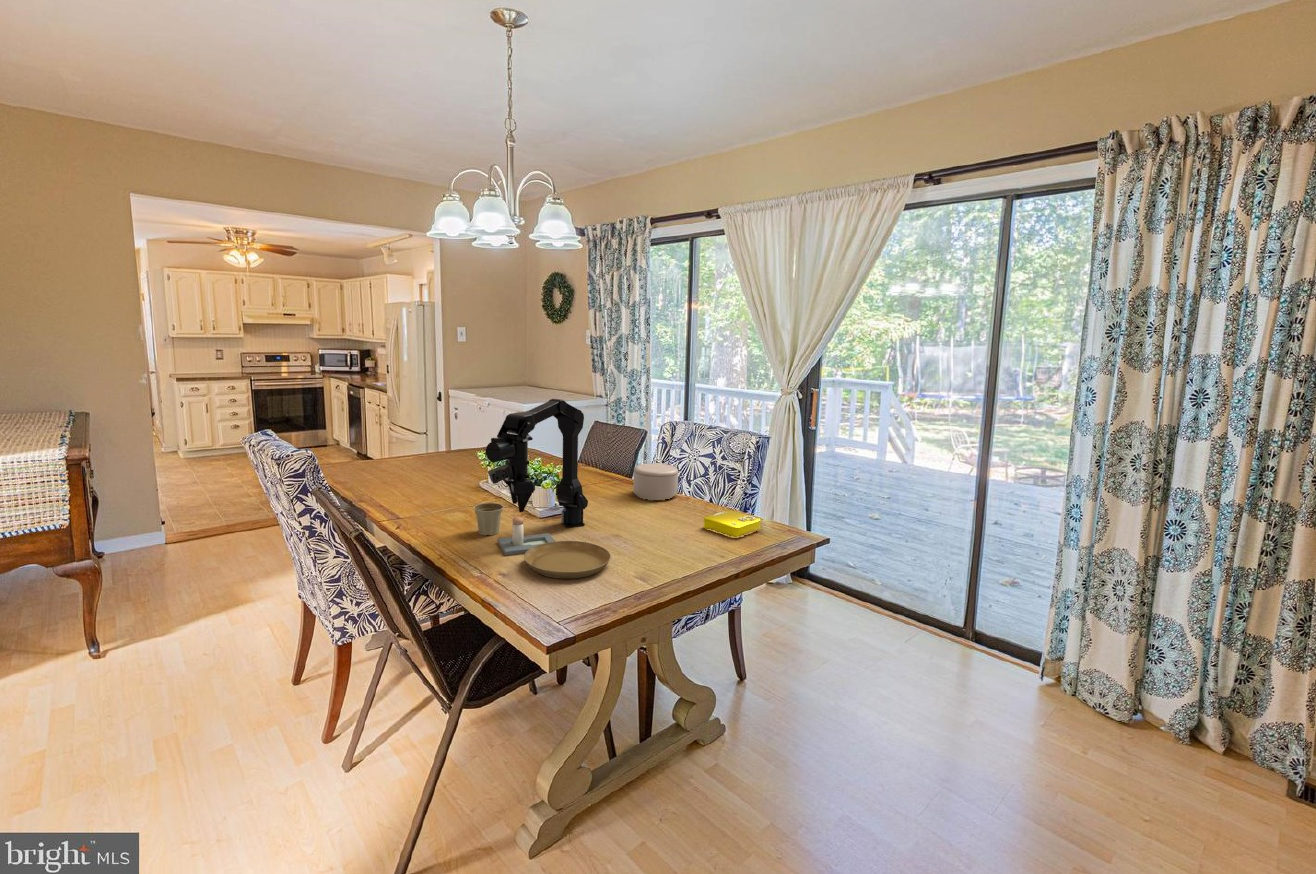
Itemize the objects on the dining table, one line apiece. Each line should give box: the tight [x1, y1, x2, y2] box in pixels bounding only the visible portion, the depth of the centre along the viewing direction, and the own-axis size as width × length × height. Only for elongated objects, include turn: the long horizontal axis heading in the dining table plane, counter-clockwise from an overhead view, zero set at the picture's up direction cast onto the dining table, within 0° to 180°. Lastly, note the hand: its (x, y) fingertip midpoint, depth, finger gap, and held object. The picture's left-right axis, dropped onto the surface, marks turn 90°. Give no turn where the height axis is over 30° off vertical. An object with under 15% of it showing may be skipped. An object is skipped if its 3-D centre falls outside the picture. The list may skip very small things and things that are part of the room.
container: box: [632, 462, 679, 501], centre depth 250 cm, size 18×18×12 cm
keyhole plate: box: [497, 532, 556, 557], centre depth 189 cm, size 16×12×1 cm
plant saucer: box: [523, 540, 612, 580], centre depth 175 cm, size 24×24×3 cm
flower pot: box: [472, 502, 505, 536], centre depth 199 cm, size 9×9×9 cm
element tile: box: [702, 509, 761, 537], centre depth 211 cm, size 15×15×5 cm
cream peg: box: [512, 517, 524, 546], centre depth 187 cm, size 3×3×9 cm
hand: (517, 507), depth 185 cm, fingers open, 9 cm apart
